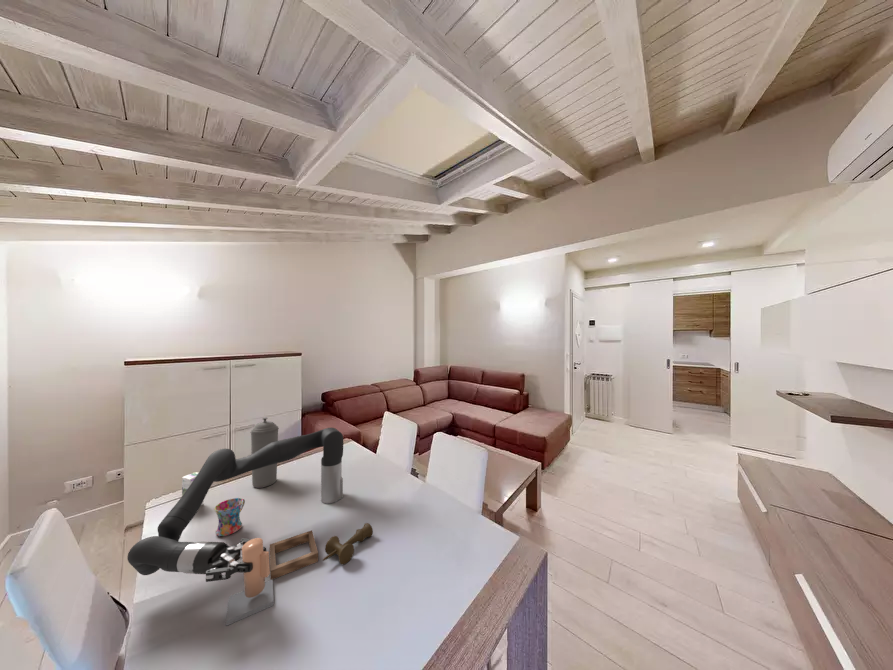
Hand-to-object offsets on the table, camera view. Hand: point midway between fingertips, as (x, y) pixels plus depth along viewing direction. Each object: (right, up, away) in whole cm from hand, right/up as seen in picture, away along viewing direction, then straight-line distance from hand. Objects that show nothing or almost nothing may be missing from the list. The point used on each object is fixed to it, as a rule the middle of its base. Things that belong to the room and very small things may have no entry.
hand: (258, 559), depth 84 cm
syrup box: (-62, -14, +48) cm, 80 cm away
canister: (-42, -14, +69) cm, 83 cm away
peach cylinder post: (-2, -9, +1) cm, 10 cm away
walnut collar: (+1, -13, +18) cm, 22 cm away
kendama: (+19, -13, +21) cm, 31 cm away
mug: (-32, -13, +33) cm, 48 cm away
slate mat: (-2, -13, 0) cm, 13 cm away
